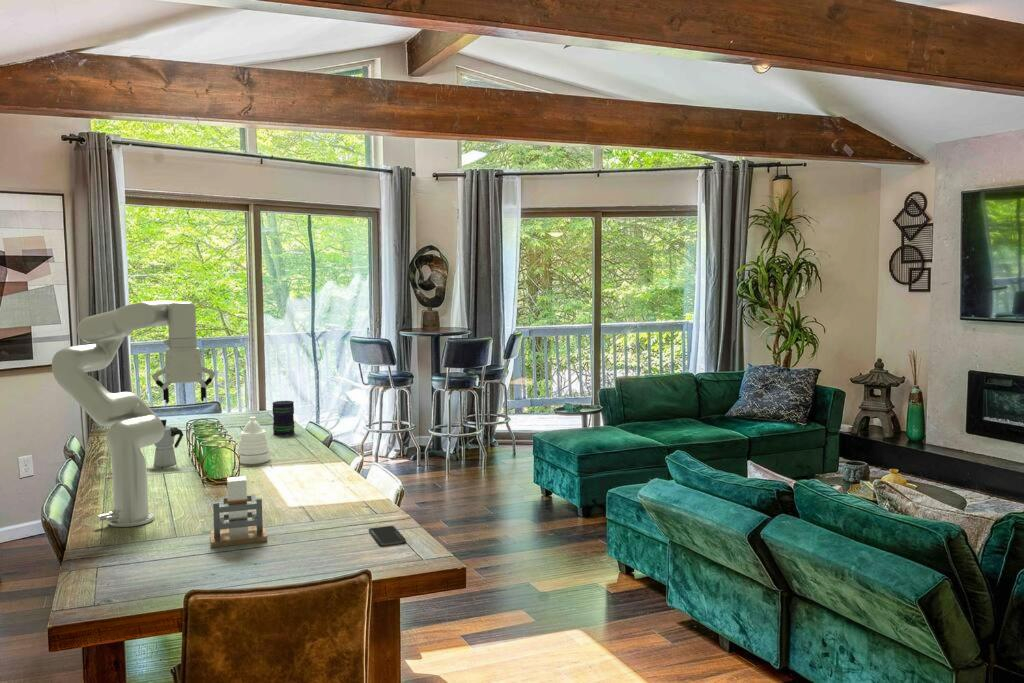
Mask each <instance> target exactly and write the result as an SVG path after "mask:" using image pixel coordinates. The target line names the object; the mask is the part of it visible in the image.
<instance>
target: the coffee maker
mask: <svg viewBox="0 0 1024 683" xmlns="http://www.w3.org/2000/svg"><path fill="white" fill-rule="evenodd" d="M160 420H161V422H162V424H163V427H164V435H163V437H162V439H161V440H160V441H159V442H157V443H155V444H154V446H155V451H154V460H153V467H157V468H158V467H159V468H165V467H172V466H175V465H177V464H178V463H177V458H176V454H175V449H177V448H178V446H179V445H180V443H181V441H182V439H183V436H184V433H183V431H182V429H181V428H180V429H179V428H178V427H175V426H174V427H173V426H170V425H167V421H168V420H167V419H160ZM178 435H179V436H178ZM175 436H178V438H177V440H176V442H175ZM174 448H175V449H174Z"/></svg>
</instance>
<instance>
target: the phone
mask: <svg viewBox="0 0 1024 683" xmlns="http://www.w3.org/2000/svg"><path fill="white" fill-rule="evenodd" d="M368 534H369V535H370V536H371V538H373V540H374V542H375V543H376V545H378V547H381V548H382V547H383V548H384V547H391V546H397V545H398V546H399V545H405V544H406V543H407V540H406V538H405V537H404V535H403V534H401V532H400V531H399V530H398V529H397V527H396V526H395V525H388V526H387V525H386V526H380V527H378V526H377V527H371V528H369V529H368Z"/></svg>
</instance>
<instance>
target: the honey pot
mask: <svg viewBox="0 0 1024 683" xmlns="http://www.w3.org/2000/svg"><path fill="white" fill-rule="evenodd" d="M266 433H267V431H266V430H265V429H263V428H262V426H261V425H260V423H259V422H258V421H257V416H250V417H249V421H248V422H246V424H245V426H244V428H243V429H242V431H241V432H240V433H239V434H240V438H239V440H238V444H237V448H236V452H237V451H238V453H239V454H240V463H239V464H242V465H252V464H253V465H255V464H262V463H267V462H268V461H270V460H271V451H270V449H271V447H270V444H269V442H268V438H267V437H266Z"/></svg>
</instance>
